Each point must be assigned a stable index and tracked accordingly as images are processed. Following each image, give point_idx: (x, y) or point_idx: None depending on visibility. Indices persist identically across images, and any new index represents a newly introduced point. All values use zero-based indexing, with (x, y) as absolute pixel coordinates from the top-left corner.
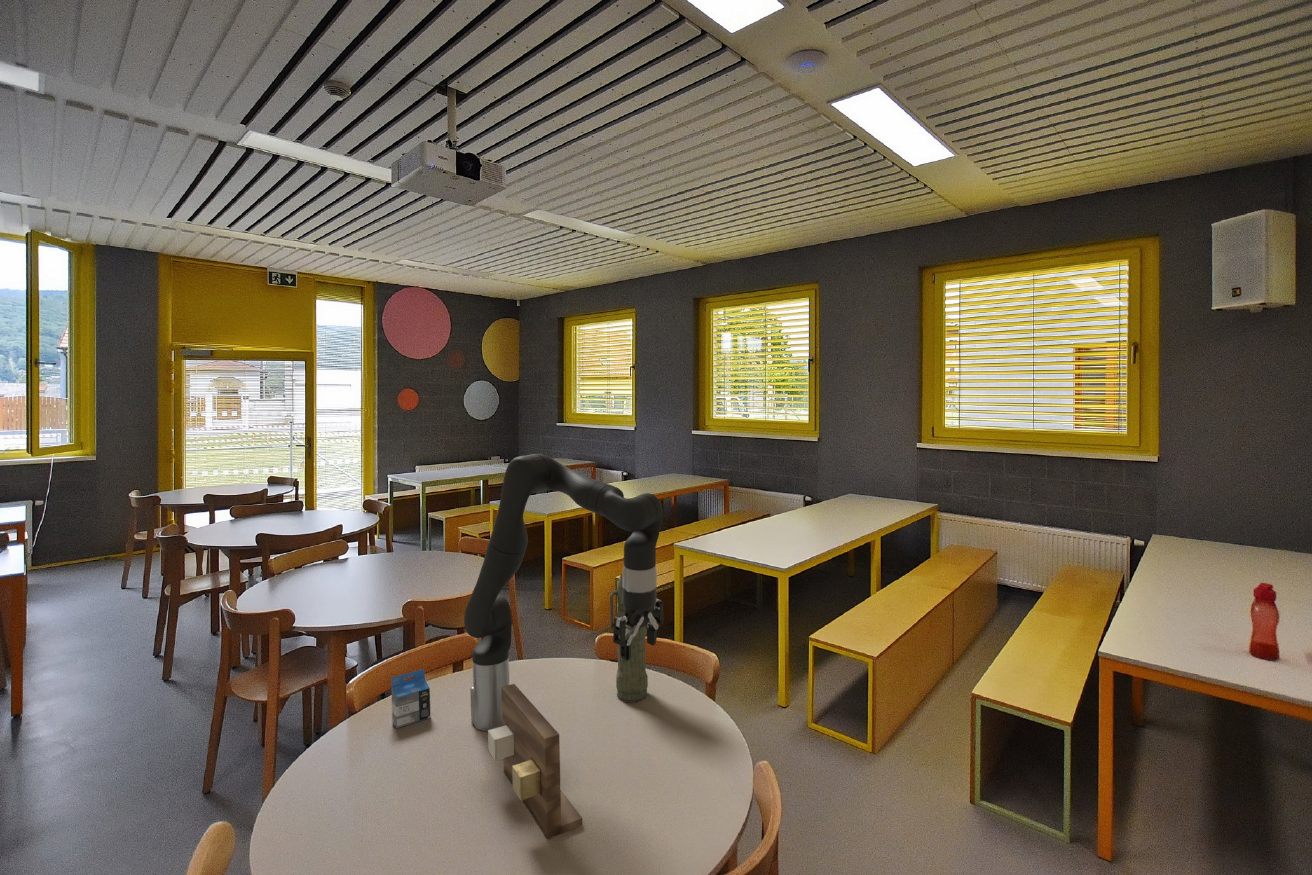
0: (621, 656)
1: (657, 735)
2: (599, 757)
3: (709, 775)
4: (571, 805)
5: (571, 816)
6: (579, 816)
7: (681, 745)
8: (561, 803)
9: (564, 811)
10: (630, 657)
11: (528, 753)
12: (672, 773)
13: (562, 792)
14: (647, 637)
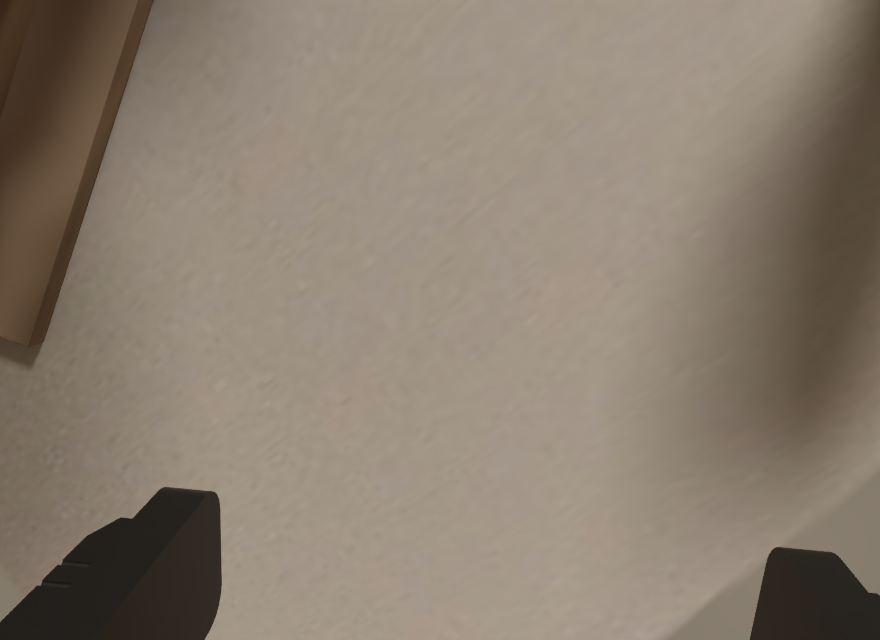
0: (108, 534)
1: (711, 196)
2: (412, 88)
3: (569, 541)
4: (51, 259)
5: (6, 306)
6: (26, 332)
7: (696, 335)
8: (32, 217)
9: (6, 263)
10: (199, 634)
11: None
12: (499, 421)
13: (83, 168)
14: (816, 609)
